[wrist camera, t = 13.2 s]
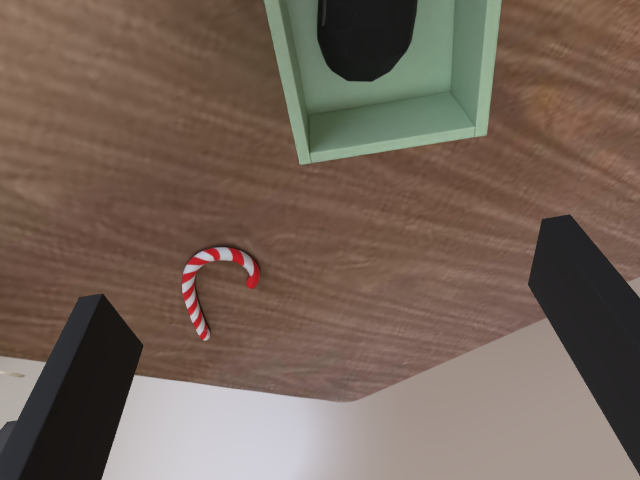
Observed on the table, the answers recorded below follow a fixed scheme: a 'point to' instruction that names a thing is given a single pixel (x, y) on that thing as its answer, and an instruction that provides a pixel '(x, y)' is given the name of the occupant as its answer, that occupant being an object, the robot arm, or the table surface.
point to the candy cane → (192, 269)
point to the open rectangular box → (388, 82)
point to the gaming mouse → (364, 35)
